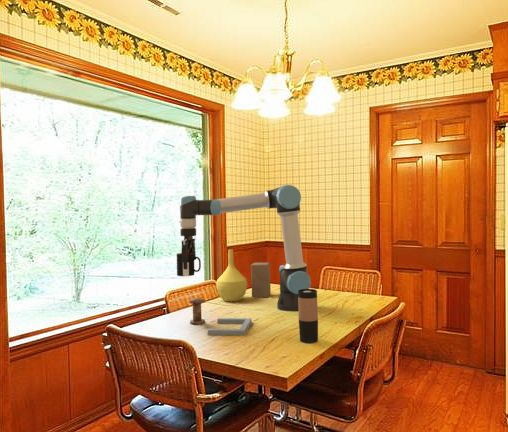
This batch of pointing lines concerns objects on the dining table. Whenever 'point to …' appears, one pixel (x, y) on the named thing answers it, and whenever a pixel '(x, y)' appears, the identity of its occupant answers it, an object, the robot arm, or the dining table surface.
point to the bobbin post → (197, 311)
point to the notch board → (242, 331)
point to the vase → (231, 282)
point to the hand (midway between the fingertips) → (188, 274)
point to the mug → (191, 264)
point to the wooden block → (260, 280)
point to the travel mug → (308, 315)
